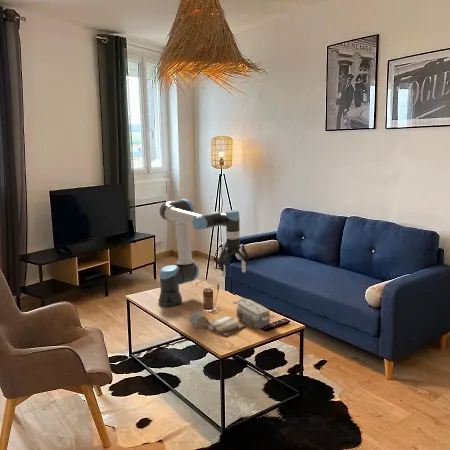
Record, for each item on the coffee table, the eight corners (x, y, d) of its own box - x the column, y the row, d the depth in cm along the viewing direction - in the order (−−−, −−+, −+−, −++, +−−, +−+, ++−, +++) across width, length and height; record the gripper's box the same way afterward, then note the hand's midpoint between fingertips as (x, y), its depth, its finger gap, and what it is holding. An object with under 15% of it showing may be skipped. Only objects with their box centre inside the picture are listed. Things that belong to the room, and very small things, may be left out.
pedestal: (204, 329, 248) (204, 322, 247) (223, 319, 260) (223, 313, 259) (226, 337, 238) (226, 330, 237) (245, 327, 249) (245, 320, 249)
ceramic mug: (197, 330, 246) (197, 317, 245) (189, 325, 253) (189, 312, 251) (213, 325, 253) (213, 312, 251) (204, 321, 259) (204, 308, 258)
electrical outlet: (245, 311, 270) (245, 295, 268) (277, 329, 248) (278, 313, 246) (229, 315, 264) (229, 300, 261) (261, 335, 241) (262, 318, 239)
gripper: (217, 242, 244) (218, 279, 249) (255, 236, 257) (255, 271, 261) (210, 239, 251) (211, 276, 255) (247, 233, 263) (248, 268, 268)
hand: (233, 274), depth 258 cm, fingers open, 13 cm apart
